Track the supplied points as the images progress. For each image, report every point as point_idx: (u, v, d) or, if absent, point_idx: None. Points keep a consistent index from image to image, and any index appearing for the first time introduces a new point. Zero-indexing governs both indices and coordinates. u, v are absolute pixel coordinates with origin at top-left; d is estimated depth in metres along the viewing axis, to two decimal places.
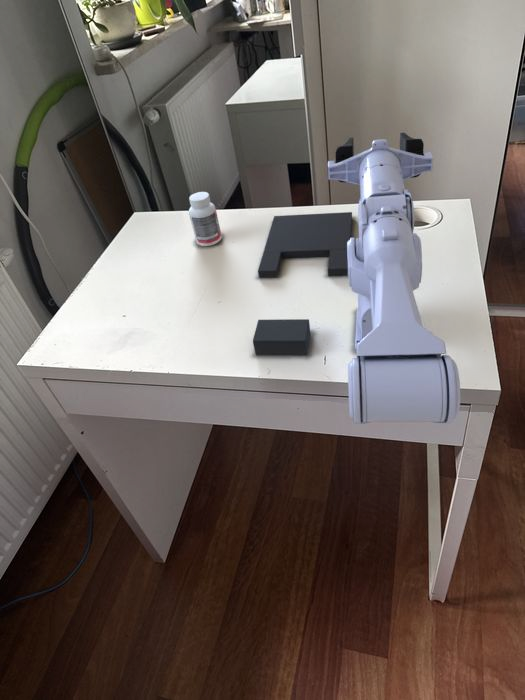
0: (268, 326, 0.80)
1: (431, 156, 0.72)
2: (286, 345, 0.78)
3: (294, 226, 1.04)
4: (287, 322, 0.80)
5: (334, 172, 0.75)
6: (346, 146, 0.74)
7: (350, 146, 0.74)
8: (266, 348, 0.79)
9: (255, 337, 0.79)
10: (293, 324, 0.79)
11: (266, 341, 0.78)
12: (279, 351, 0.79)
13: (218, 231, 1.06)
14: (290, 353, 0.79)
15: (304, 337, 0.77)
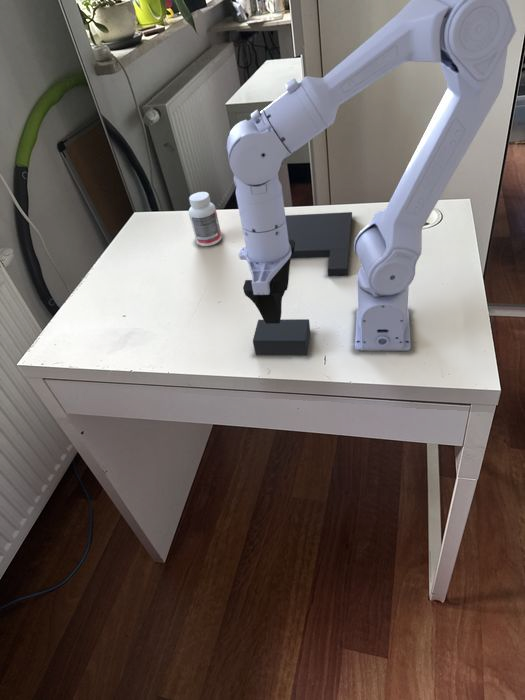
0: (268, 326, 0.80)
1: None
2: (286, 345, 0.78)
3: (294, 226, 1.04)
4: (287, 322, 0.80)
5: (260, 278, 0.65)
6: (244, 284, 0.68)
7: (245, 281, 0.69)
8: (266, 348, 0.79)
9: (255, 337, 0.79)
10: (293, 324, 0.79)
11: (266, 341, 0.78)
12: (279, 351, 0.79)
13: (218, 231, 1.06)
14: (290, 353, 0.79)
15: (304, 337, 0.77)
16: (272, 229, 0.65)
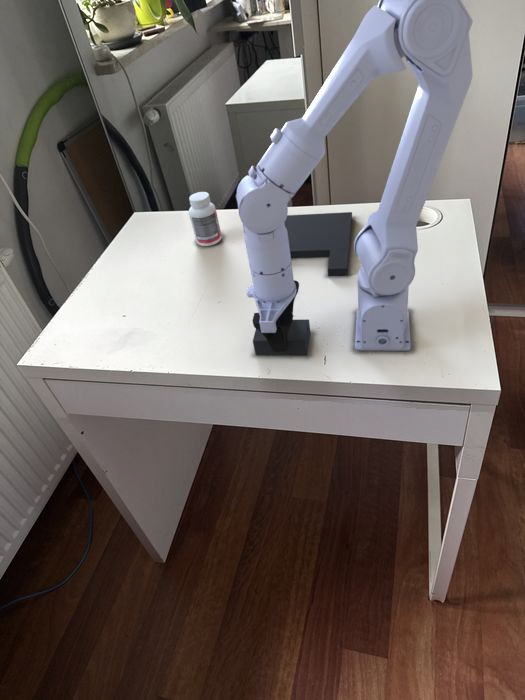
0: None
1: None
2: None
3: (294, 226, 1.04)
4: None
5: (267, 318, 0.69)
6: (253, 317, 0.73)
7: (254, 314, 0.74)
8: (266, 348, 0.79)
9: (255, 337, 0.78)
10: (293, 324, 0.79)
11: (266, 341, 0.78)
12: None
13: (218, 231, 1.06)
14: (290, 353, 0.79)
15: (304, 337, 0.77)
16: (278, 272, 0.69)
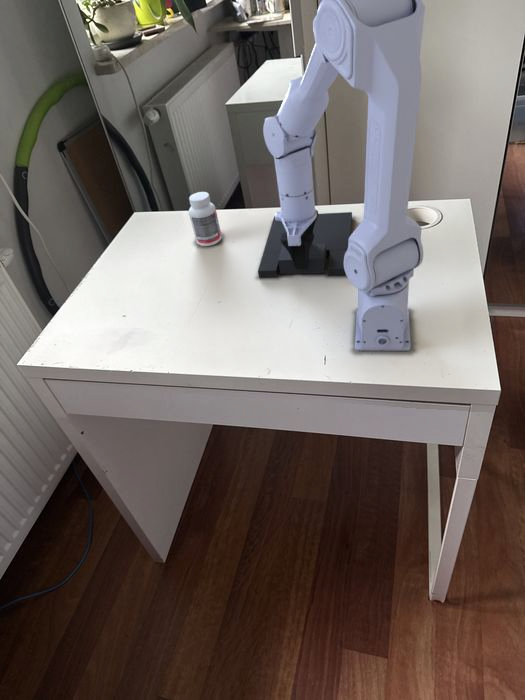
0: None
1: None
2: None
3: None
4: None
5: (293, 233, 0.84)
6: (281, 236, 0.88)
7: (281, 234, 0.88)
8: (289, 267, 0.93)
9: (280, 257, 0.93)
10: (312, 247, 0.94)
11: (290, 260, 0.92)
12: (300, 269, 0.93)
13: (218, 231, 1.06)
14: (310, 271, 0.93)
15: (322, 256, 0.91)
16: (303, 194, 0.83)
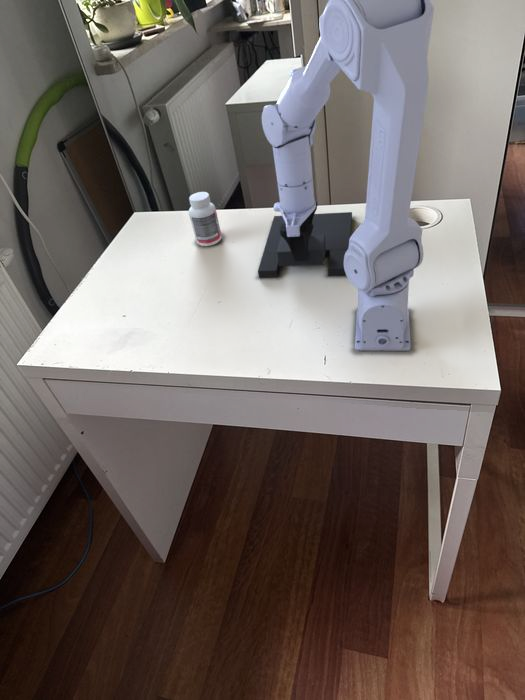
0: None
1: None
2: None
3: None
4: None
5: (292, 223, 0.83)
6: (280, 227, 0.87)
7: (280, 225, 0.87)
8: (288, 259, 0.92)
9: (279, 249, 0.92)
10: (311, 239, 0.93)
11: (289, 252, 0.91)
12: (299, 261, 0.92)
13: (218, 231, 1.06)
14: (309, 263, 0.92)
15: (321, 248, 0.90)
16: (302, 184, 0.82)
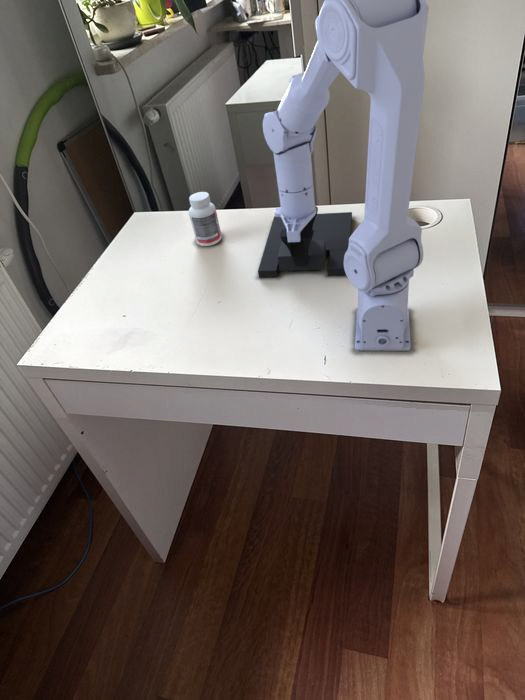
0: None
1: None
2: None
3: None
4: None
5: (293, 229, 0.84)
6: (280, 232, 0.88)
7: (281, 230, 0.88)
8: (289, 264, 0.93)
9: (280, 254, 0.93)
10: (312, 244, 0.94)
11: (289, 257, 0.92)
12: (300, 266, 0.93)
13: (218, 231, 1.06)
14: (309, 268, 0.93)
15: (321, 253, 0.91)
16: (303, 190, 0.83)
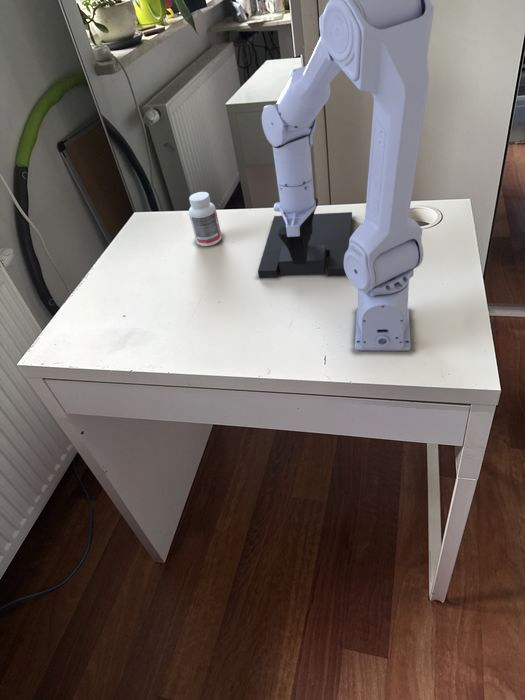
0: None
1: None
2: (306, 264, 0.92)
3: None
4: None
5: (292, 223, 0.83)
6: (279, 230, 0.86)
7: (279, 228, 0.87)
8: (290, 268, 0.94)
9: (280, 259, 0.93)
10: (312, 248, 0.94)
11: (290, 261, 0.93)
12: (300, 271, 0.93)
13: (218, 231, 1.06)
14: (310, 272, 0.93)
15: (322, 257, 0.92)
16: (302, 184, 0.82)
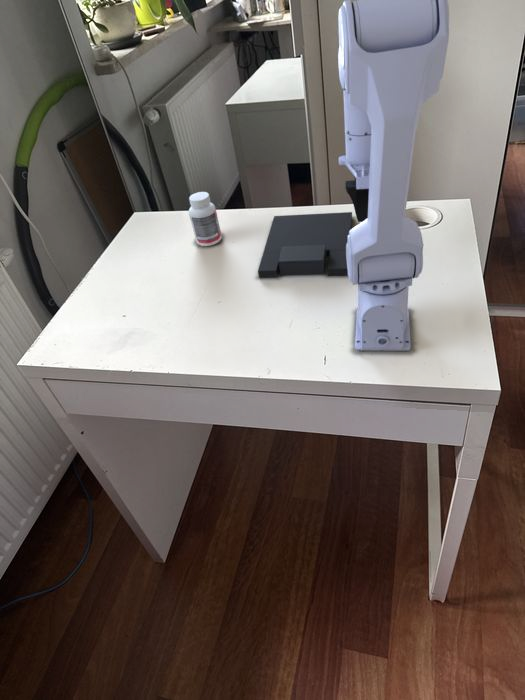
0: (290, 250, 0.95)
1: None
2: (306, 264, 0.92)
3: (294, 226, 1.04)
4: (307, 247, 0.95)
5: (362, 174, 0.79)
6: (345, 184, 0.82)
7: (346, 182, 0.82)
8: (290, 268, 0.94)
9: (280, 259, 0.93)
10: (312, 248, 0.94)
11: (290, 261, 0.93)
12: (300, 271, 0.93)
13: (218, 231, 1.06)
14: (310, 272, 0.93)
15: (322, 257, 0.92)
16: None
